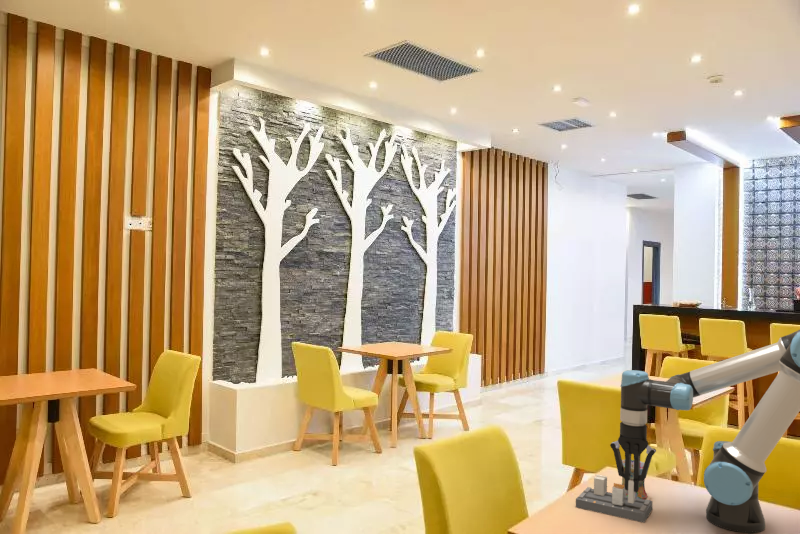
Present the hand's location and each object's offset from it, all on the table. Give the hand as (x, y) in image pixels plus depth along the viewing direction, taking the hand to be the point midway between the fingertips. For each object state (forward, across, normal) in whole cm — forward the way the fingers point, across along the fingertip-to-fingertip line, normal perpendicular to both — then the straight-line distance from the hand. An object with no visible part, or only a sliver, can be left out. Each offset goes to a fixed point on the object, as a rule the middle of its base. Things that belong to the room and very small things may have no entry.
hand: (631, 501), depth 183 cm
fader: (+1, +4, 0) cm, 4 cm away
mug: (+4, +4, -18) cm, 18 cm away
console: (+4, +6, -2) cm, 7 cm away
